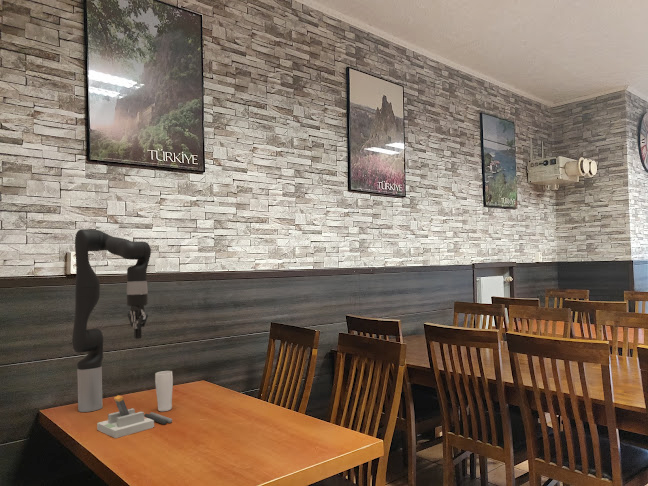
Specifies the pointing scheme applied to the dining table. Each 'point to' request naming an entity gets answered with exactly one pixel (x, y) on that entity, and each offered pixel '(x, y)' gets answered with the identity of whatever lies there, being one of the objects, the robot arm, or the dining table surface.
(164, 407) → the drinking glass
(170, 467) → the dining table surface
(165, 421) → the cable bundle
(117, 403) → the lever
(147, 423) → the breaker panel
